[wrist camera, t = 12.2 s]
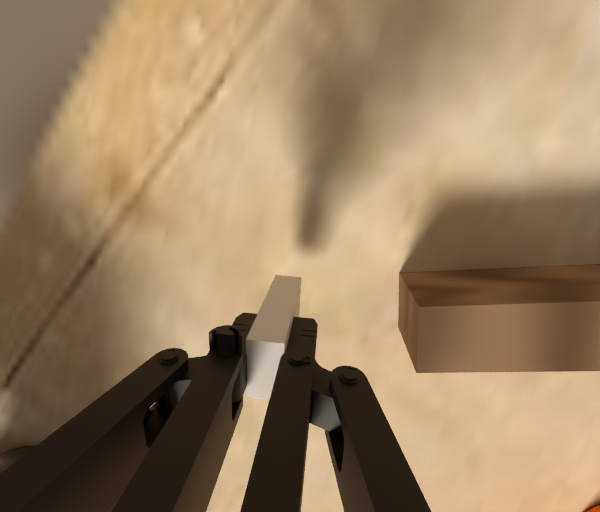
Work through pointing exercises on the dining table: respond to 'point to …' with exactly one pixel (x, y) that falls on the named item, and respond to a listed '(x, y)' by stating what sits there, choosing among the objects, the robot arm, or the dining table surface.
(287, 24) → the dining table surface
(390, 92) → the dining table surface
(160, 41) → the dining table surface
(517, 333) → the brown wooden block
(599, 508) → the shaker bottle
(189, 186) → the dining table surface
